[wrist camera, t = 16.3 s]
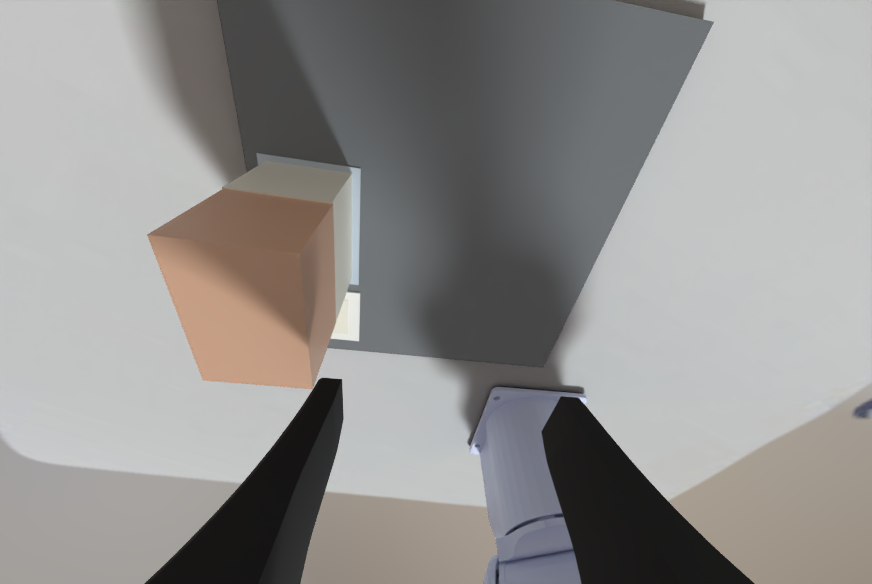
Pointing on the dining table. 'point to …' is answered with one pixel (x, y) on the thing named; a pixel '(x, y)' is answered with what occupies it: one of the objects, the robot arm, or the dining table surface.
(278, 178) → the cream brick
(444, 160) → the mat
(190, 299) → the terracotta brick
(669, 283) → the dining table surface
